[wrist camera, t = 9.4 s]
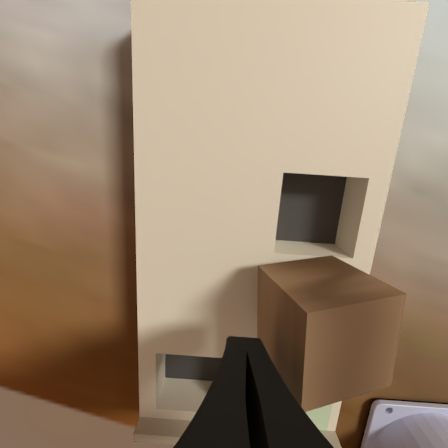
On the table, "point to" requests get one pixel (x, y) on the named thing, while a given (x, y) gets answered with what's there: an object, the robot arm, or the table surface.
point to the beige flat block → (253, 168)
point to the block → (328, 328)
